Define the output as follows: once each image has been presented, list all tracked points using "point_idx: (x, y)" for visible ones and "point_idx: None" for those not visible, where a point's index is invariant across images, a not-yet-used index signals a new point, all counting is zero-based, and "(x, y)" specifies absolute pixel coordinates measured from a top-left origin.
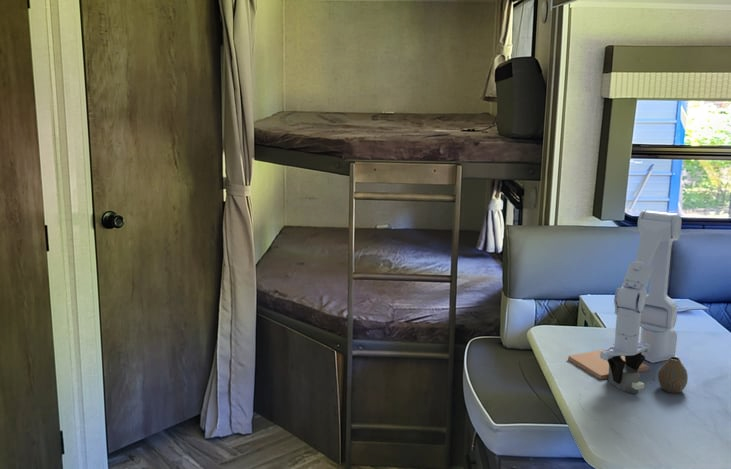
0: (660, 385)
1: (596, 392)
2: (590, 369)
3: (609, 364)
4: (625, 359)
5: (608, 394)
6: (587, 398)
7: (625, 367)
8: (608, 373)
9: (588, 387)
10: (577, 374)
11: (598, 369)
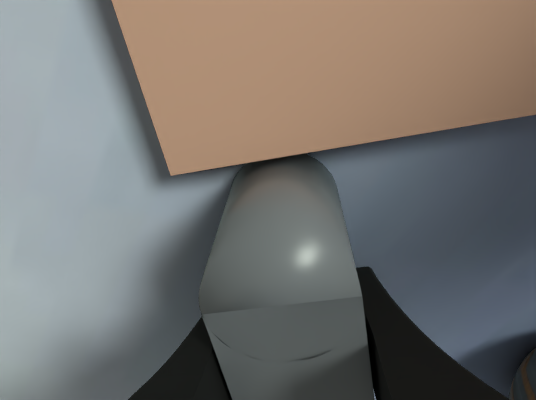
0: (516, 378)
1: (83, 310)
2: (118, 16)
3: (140, 395)
4: (386, 379)
5: (149, 340)
6: (12, 352)
7: (322, 387)
8: (223, 213)
9: (48, 248)
10: (3, 16)
11: (200, 42)
